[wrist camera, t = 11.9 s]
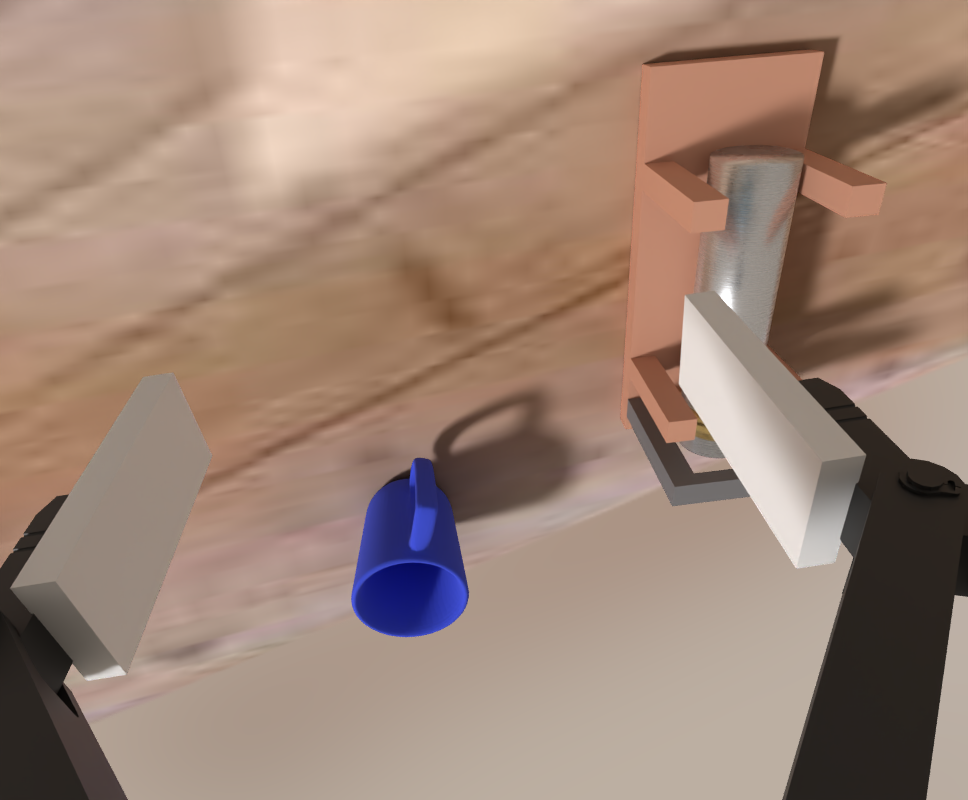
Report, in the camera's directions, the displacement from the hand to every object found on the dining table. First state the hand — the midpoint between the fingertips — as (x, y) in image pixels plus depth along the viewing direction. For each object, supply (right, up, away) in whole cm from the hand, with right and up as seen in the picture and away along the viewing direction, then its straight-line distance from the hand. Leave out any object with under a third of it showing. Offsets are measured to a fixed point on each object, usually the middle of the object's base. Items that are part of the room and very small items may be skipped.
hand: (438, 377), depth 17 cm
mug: (-5, -8, +36) cm, 37 cm away
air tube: (+16, +6, +27) cm, 32 cm away
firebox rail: (+16, +9, +27) cm, 33 cm away
